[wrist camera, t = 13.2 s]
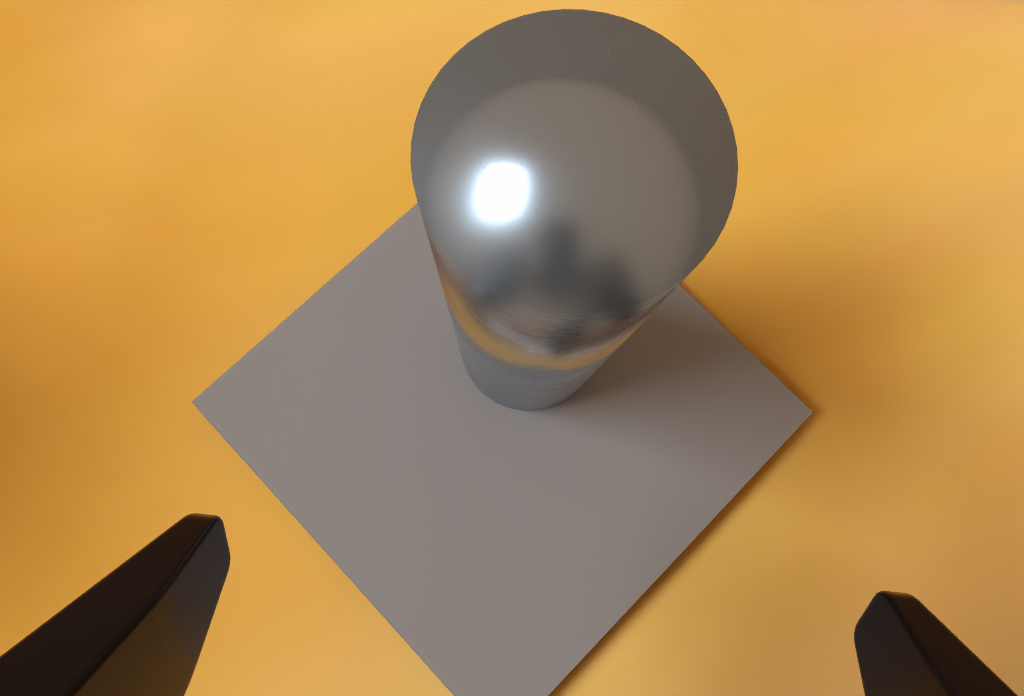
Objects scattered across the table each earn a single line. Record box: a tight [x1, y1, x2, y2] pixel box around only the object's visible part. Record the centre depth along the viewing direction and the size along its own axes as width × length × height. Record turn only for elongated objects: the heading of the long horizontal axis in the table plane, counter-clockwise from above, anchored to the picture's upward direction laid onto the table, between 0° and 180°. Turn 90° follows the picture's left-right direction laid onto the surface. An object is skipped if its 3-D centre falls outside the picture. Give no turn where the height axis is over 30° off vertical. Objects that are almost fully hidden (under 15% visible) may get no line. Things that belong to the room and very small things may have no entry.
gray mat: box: [192, 203, 813, 696], centre depth 22 cm, size 14×14×1 cm
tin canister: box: [411, 9, 738, 411], centre depth 15 cm, size 4×4×13 cm
